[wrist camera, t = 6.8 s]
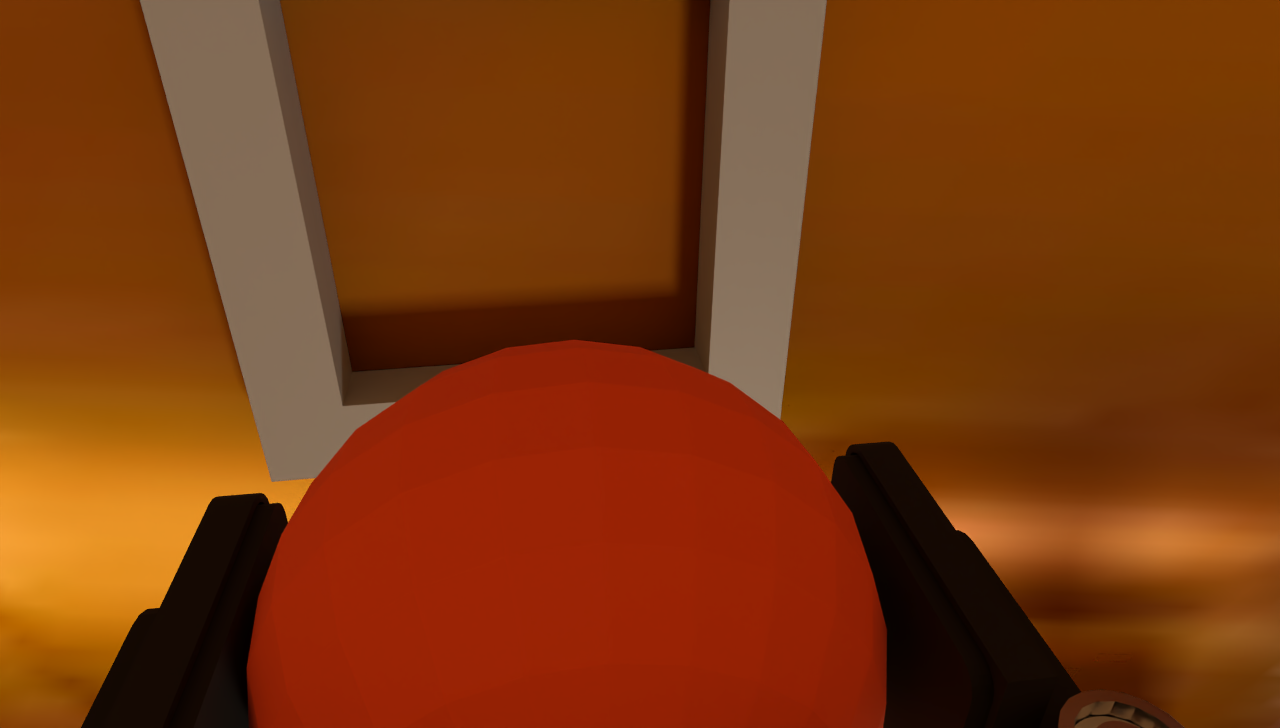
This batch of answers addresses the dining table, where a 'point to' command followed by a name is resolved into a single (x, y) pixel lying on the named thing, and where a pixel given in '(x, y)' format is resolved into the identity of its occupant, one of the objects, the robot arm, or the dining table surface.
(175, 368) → the dining table surface
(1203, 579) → the dining table surface
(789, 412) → the dining table surface
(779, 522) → the clementine
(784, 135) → the pocket frame
